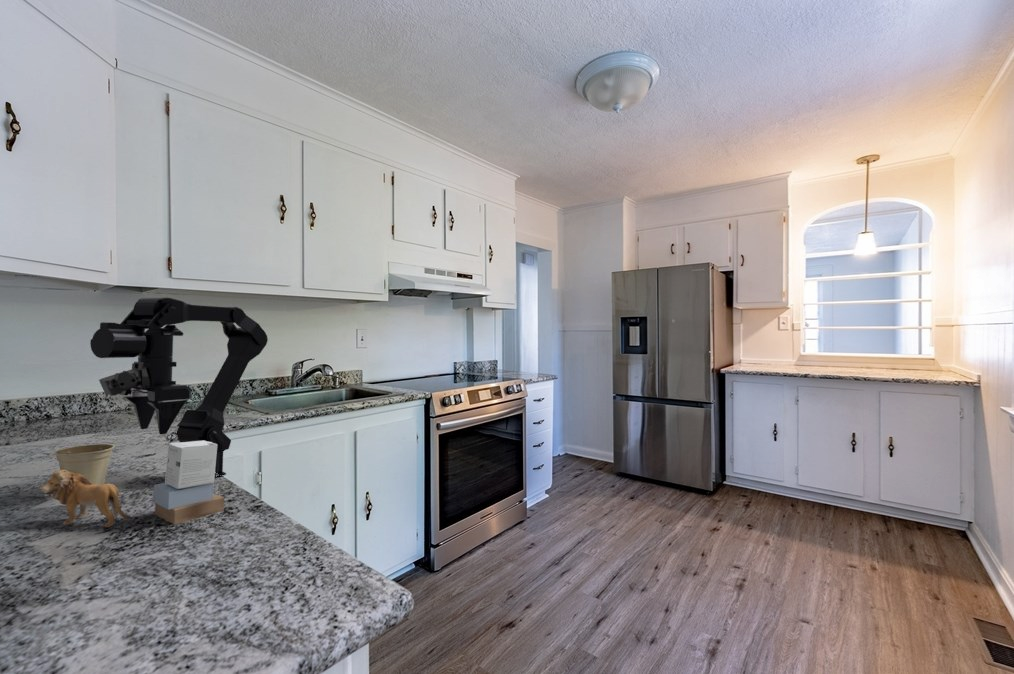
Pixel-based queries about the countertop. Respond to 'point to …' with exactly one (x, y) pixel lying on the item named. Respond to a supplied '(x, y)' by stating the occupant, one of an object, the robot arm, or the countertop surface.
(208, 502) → the bottom slab
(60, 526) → the countertop surface
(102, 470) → the flower pot
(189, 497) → the top slab
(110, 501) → the lion figurine
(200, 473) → the skincare box
